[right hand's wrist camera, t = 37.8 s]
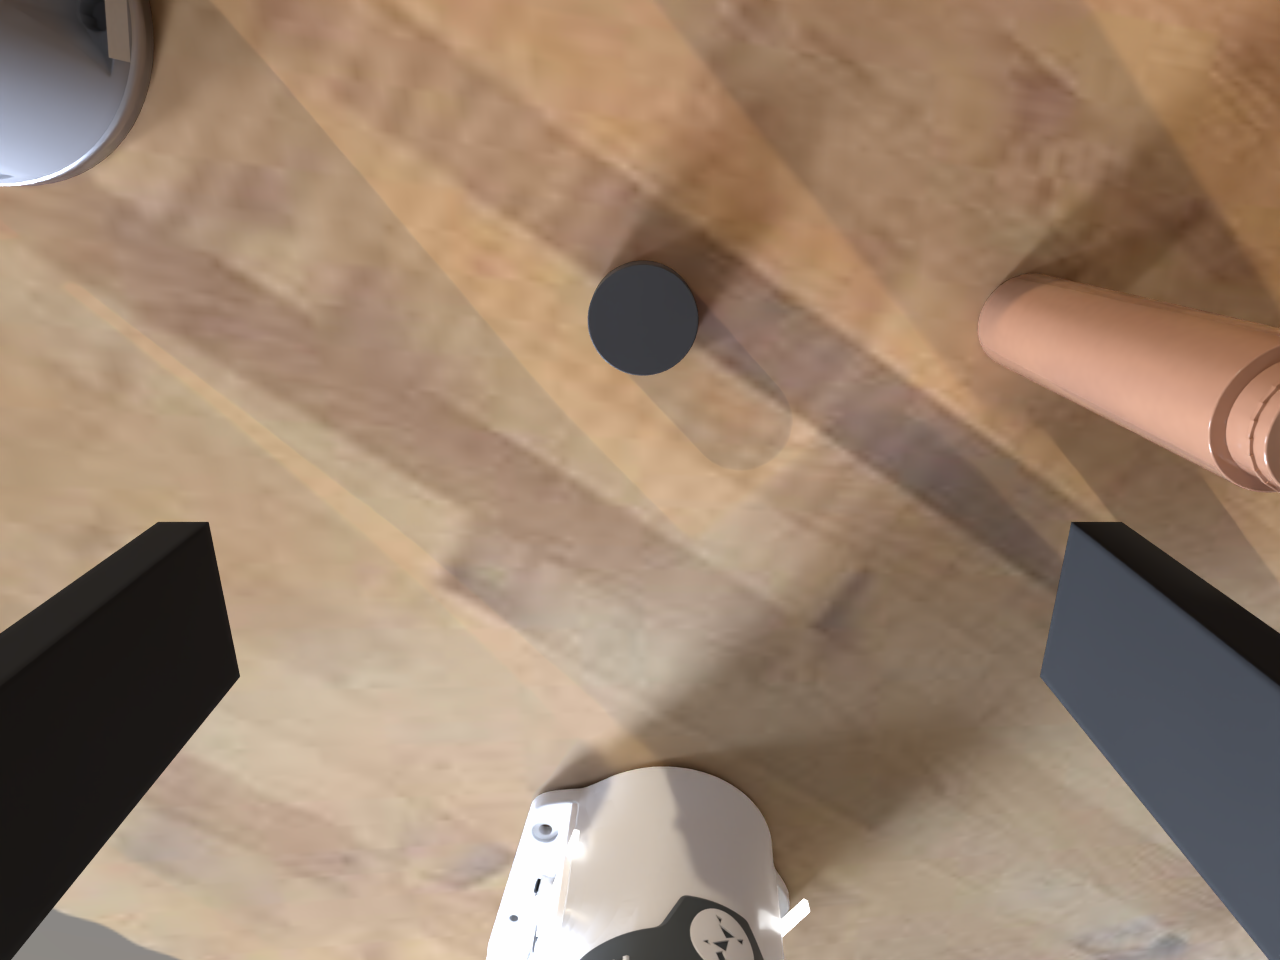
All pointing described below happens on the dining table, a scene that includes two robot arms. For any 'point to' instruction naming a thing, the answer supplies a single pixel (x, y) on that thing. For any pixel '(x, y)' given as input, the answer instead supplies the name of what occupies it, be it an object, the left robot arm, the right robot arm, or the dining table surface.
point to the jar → (1148, 369)
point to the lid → (643, 318)
